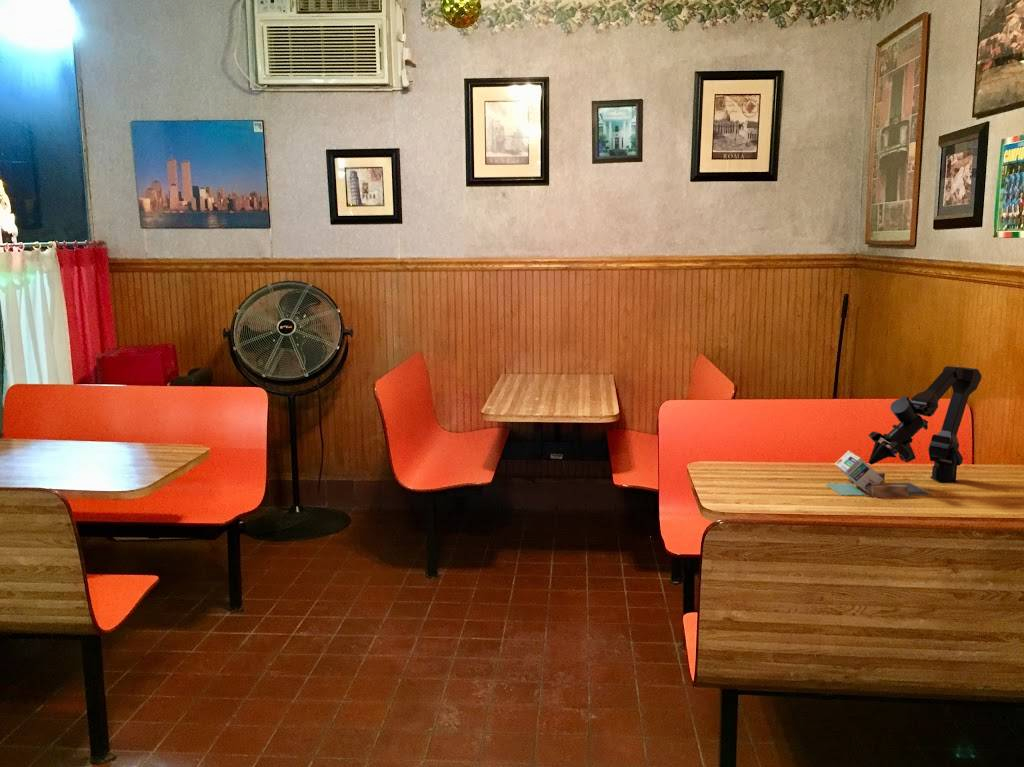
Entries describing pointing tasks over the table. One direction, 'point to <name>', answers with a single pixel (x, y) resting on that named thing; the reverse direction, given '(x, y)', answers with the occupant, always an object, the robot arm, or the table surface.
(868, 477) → the light bulb box
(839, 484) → the teal pad
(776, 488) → the table surface
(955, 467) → the robot arm
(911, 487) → the mat
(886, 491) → the walnut track
